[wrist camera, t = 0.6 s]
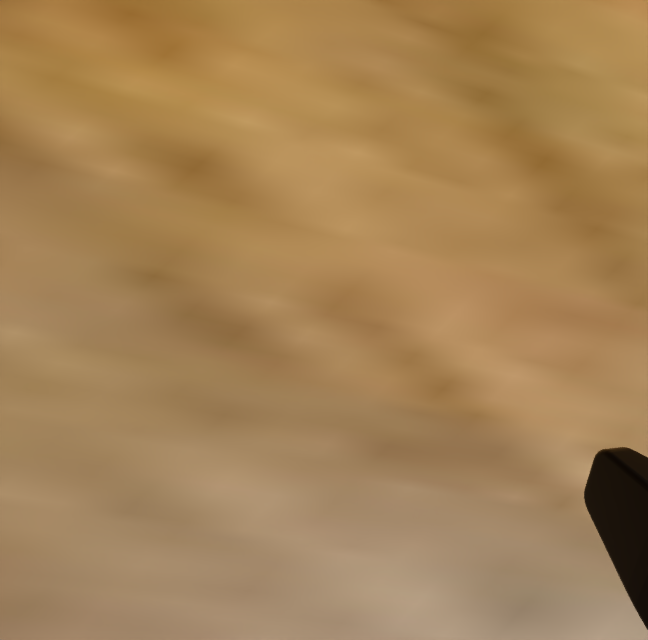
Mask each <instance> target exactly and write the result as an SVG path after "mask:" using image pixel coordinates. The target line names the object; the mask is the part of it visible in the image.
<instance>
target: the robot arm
mask: <svg viewBox="0 0 648 640" xmlns="http://www.w3.org/2000/svg"><path fill="white" fill-rule="evenodd" d="M584 499H585V504H586V507H587V510H588V512H589V514H590V516H591V518H592V520H593V522H594V524H595V527H596V529H597V531H598V533H599V535H600V537H601V539H602V541H603V543H604V545H605V547H606V550H607V552H608V554H609V556H610V558H611V560H612V562H613V564H614V566H615V568H616V571H617V573H618V575H619V577H620V579H621V581H622V583H623V585H624V587H625V589H626V591H627V593H628V595H629V597H630V599H631V601H632V603H633V605H634V607H635V609H636V610H637V612H638V614H639V616H640V618H641V619H642V621H643V623H644V625H645V626H646V628H647V630H648V457H646V456H644V455H642V454H640V453H638V452H636V451H634V450H632V449H630V448H626V447H620V448H611V449H603V450H600V451H599V452H598V453H597V454H596V455H595V458H594V461H593V464H592V467H591V471H590V474H589V477H588V480H587V484H586V487H585V491H584Z"/></svg>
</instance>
